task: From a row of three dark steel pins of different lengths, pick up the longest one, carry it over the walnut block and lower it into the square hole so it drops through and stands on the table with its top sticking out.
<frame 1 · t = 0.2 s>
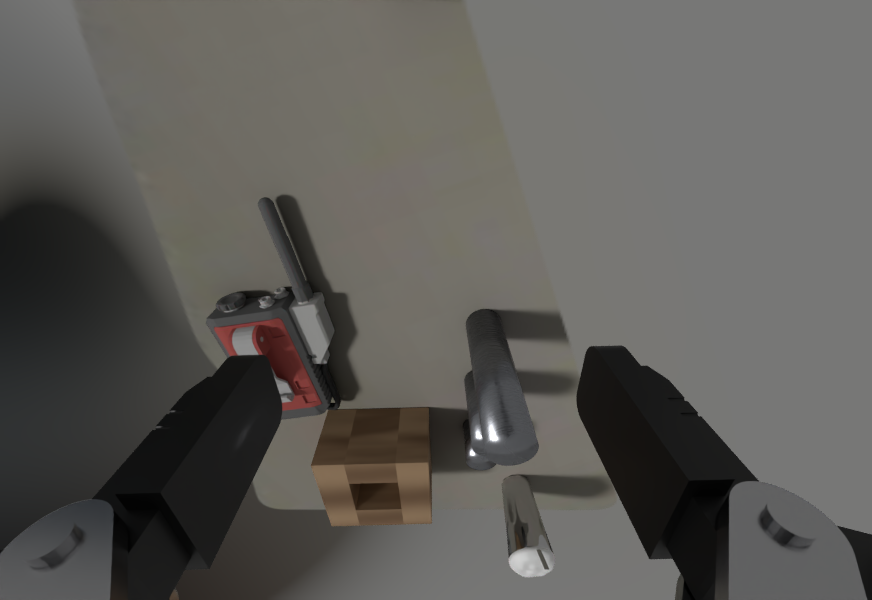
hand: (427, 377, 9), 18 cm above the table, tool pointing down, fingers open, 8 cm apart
pin short: (477, 425, 36), on the table
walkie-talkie: (282, 315, 30), on the table
hole block: (383, 440, 37), on the table
pin long: (483, 324, 30), on the table
milkshake: (515, 479, 42), on the table
pin medium: (480, 380, 33), on the table
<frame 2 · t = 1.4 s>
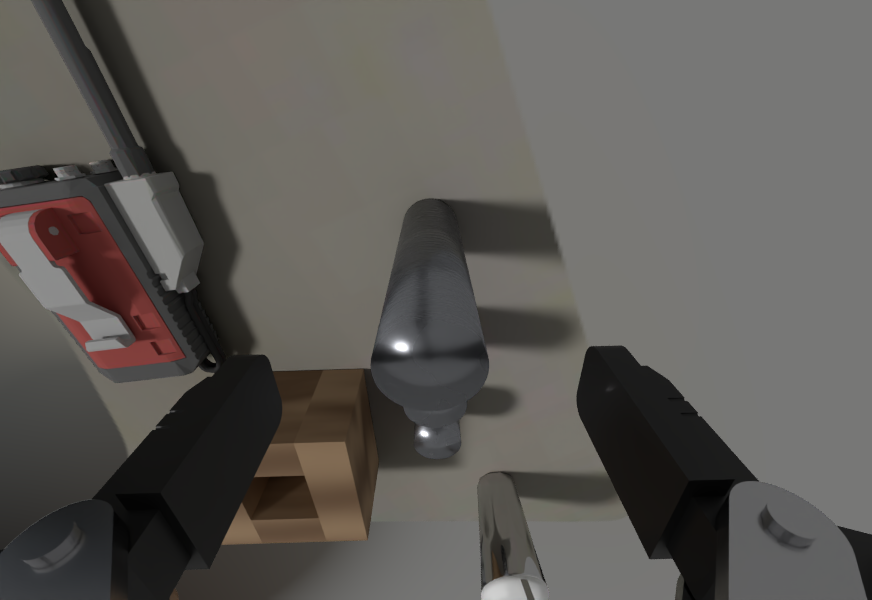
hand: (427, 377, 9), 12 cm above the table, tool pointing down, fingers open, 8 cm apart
pin short: (436, 397, 26), on the table
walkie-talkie: (124, 218, 20), on the table
hole block: (306, 421, 27), on the table
pin long: (430, 226, 19), on the table
milkshake: (496, 478, 31), on the table
pin medium: (433, 324, 23), on the table
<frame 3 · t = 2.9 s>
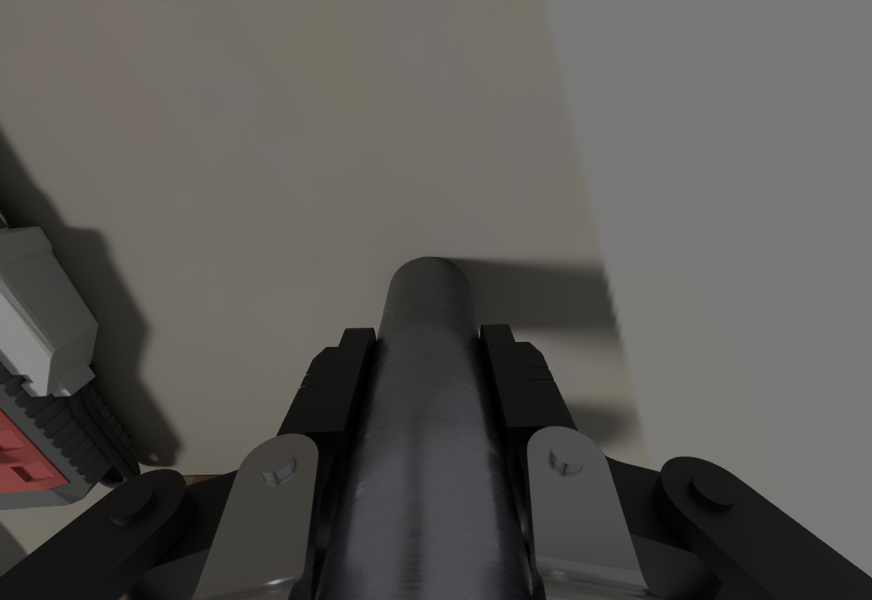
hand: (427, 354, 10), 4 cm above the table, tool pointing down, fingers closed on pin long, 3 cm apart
pin long: (429, 294, 13), on the table, touching gripper
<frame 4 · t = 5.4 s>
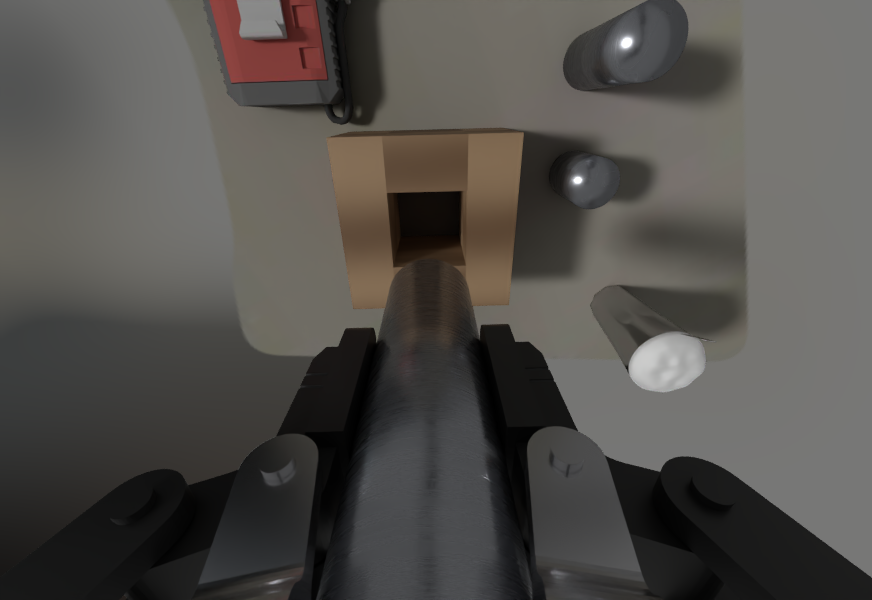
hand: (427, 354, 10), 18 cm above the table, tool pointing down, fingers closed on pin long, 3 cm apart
pin short: (570, 173, 24), on the table
hole block: (428, 206, 25), on the table
pin long: (429, 296, 13), point 14 cm above the table, touching gripper
milkshake: (610, 297, 29), on the table
pin medium: (588, 61, 21), on the table
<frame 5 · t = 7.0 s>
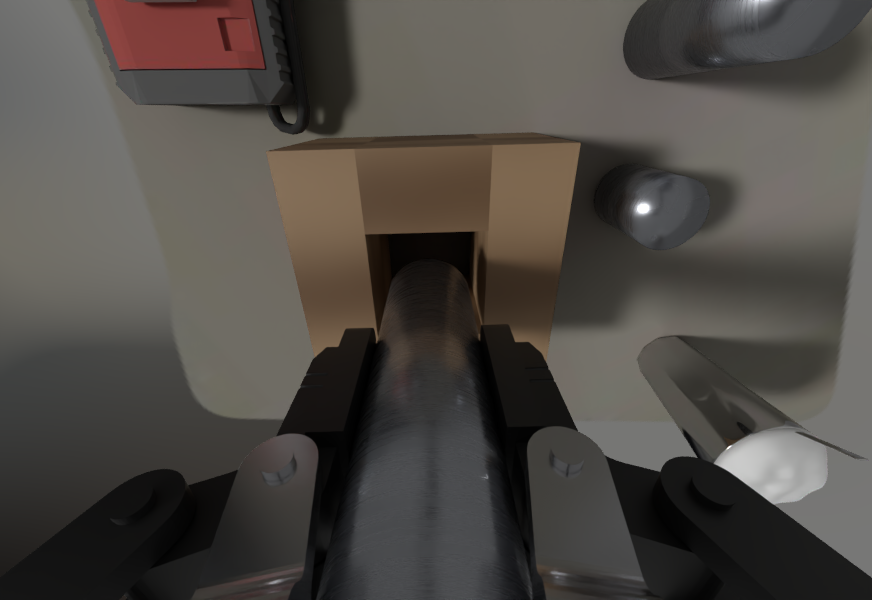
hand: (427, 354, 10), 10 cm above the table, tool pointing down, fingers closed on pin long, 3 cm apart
pin short: (623, 194, 18), on the table
hole block: (429, 238, 19), on the table
pin long: (429, 296, 13), point 7 cm above the table, touching gripper
milkshake: (663, 349, 23), on the table
pin medium: (659, 37, 15), on the table
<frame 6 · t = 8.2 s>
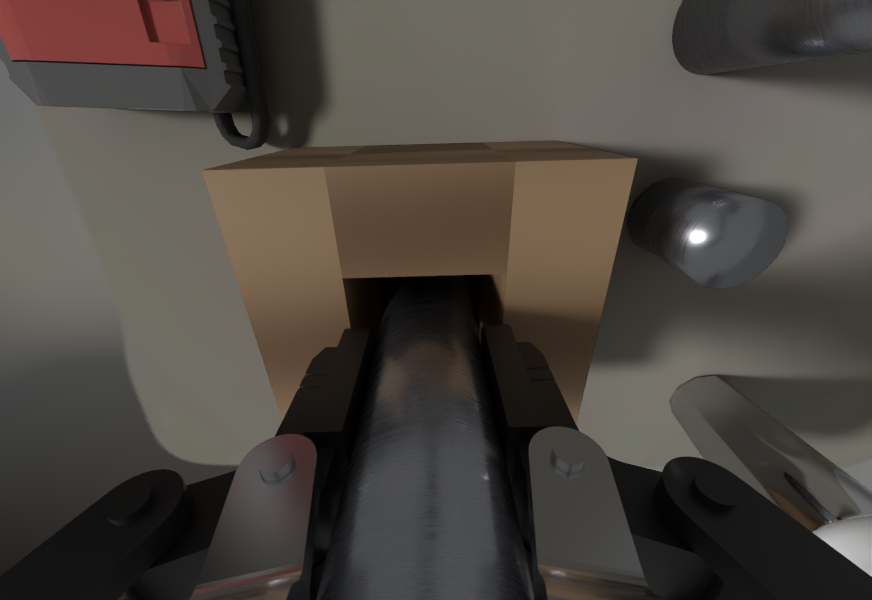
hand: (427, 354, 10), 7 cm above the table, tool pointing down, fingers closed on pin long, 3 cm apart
pin short: (663, 215, 15), on the table
hole block: (428, 265, 16), on the table
pin long: (429, 296, 13), point 3 cm above the table, touching gripper
milkshake: (700, 389, 20), on the table
pin medium: (719, 21, 12), on the table
when the fingers open (7 cm above the table, at t = 8.2 s): pin long drops 3 cm, resting in hole block.
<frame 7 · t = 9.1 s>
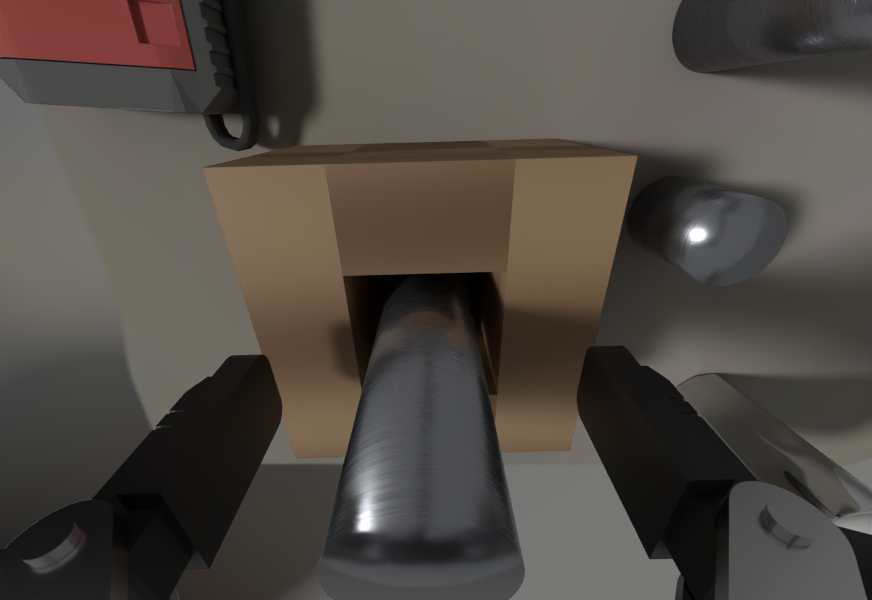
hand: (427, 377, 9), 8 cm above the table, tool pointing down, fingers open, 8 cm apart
pin short: (663, 213, 15), on the table
hole block: (428, 264, 16), on the table
pin long: (428, 264, 16), resting in hole block
milkshake: (700, 387, 20), on the table
pin medium: (719, 19, 12), on the table
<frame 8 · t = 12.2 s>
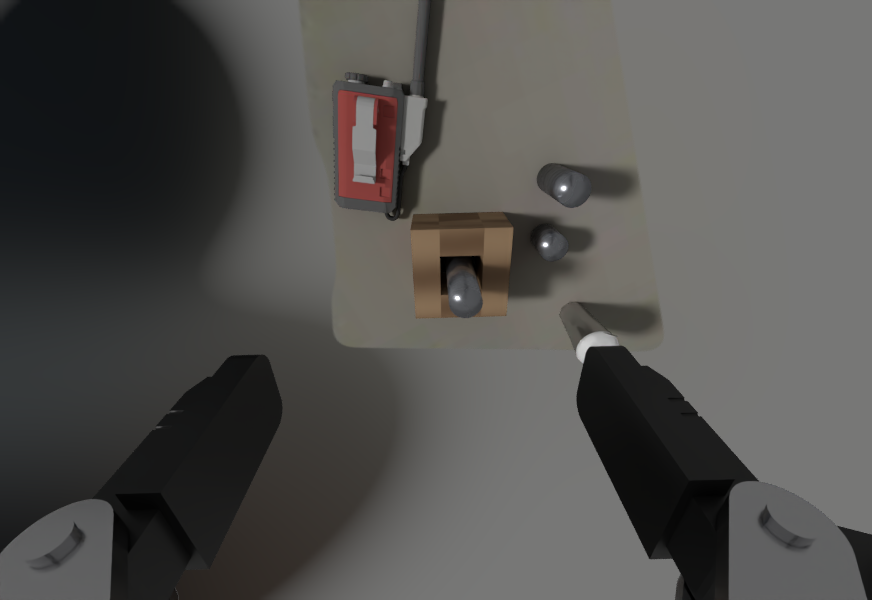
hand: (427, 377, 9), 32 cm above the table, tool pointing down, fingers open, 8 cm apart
pin short: (543, 236, 41), on the table
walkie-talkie: (382, 116, 35), on the table
hole block: (457, 255, 41), on the table
pin long: (457, 255, 42), resting in hole block
milkshake: (572, 309, 45), on the table
pin medium: (550, 178, 37), on the table
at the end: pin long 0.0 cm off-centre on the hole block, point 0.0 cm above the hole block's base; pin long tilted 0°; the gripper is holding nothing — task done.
